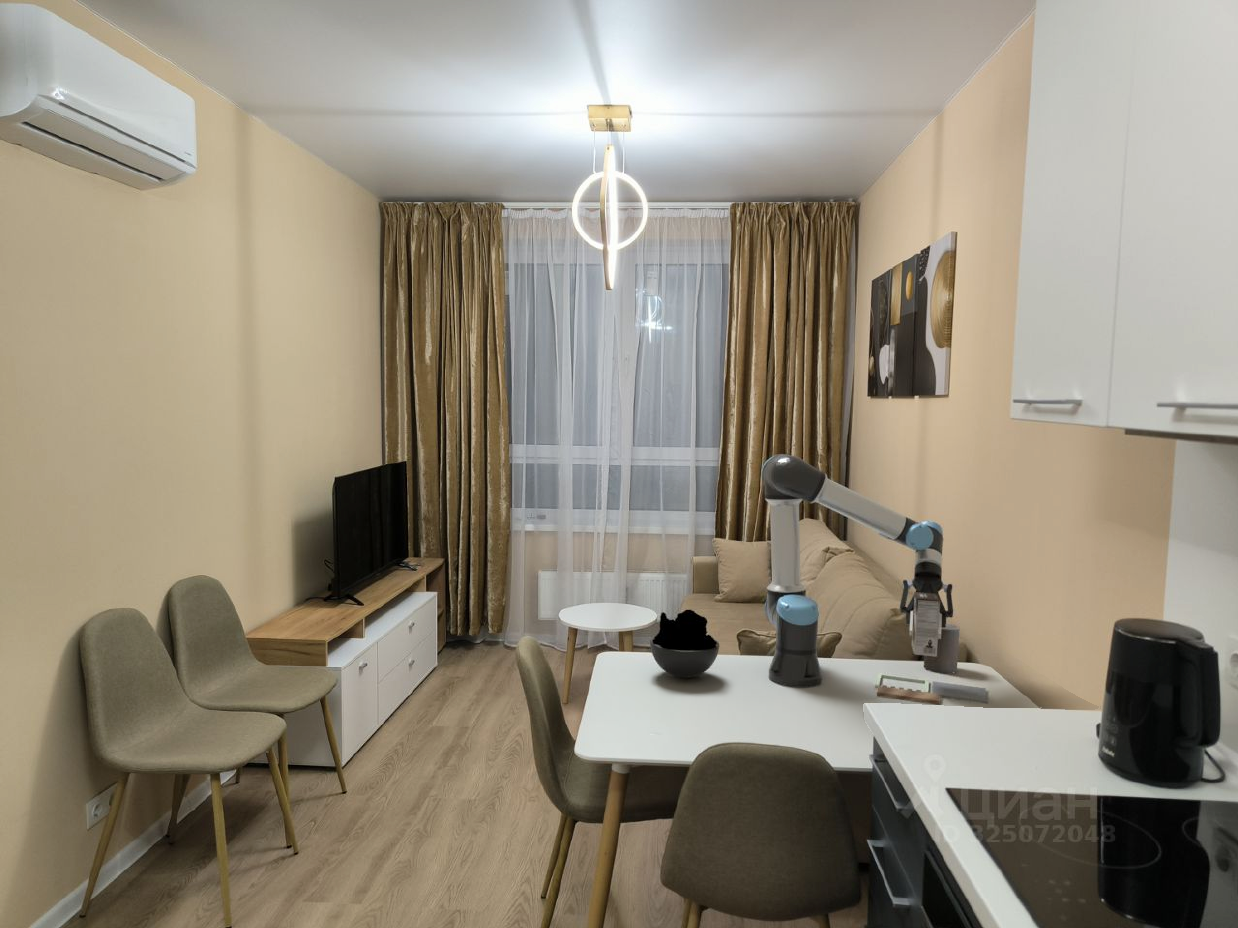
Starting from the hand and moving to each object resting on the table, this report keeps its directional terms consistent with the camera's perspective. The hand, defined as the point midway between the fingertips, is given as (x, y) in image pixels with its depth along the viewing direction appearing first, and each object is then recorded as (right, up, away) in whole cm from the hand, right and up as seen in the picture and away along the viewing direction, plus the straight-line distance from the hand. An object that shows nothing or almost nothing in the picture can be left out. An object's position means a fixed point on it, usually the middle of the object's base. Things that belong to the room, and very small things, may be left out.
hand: (925, 634), depth 224 cm
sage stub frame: (-4, -16, +6) cm, 17 cm away
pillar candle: (+13, -16, +23) cm, 31 cm away
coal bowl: (-67, -14, +9) cm, 69 cm away
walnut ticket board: (-6, -16, -5) cm, 18 cm away
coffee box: (+1, -6, +4) cm, 7 cm away
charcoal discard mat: (+9, -16, 0) cm, 19 cm away
